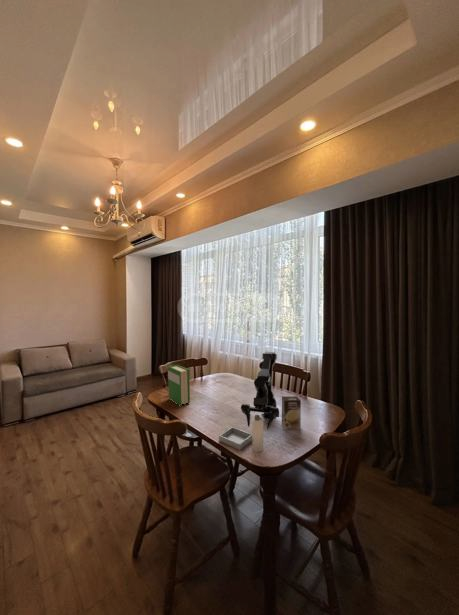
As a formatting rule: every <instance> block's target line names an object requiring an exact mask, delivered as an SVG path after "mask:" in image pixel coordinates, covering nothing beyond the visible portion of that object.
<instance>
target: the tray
mask: <svg viewBox="0 0 459 615" xmlns="http://www.w3.org/2000/svg"><path fill="white" fill-rule="evenodd" d="M219 442H220V443H221V444H224V445H226V446H229V447H231V448H233V449H235V450H237V451H240V452H241V451H242V450H243V449H244V448H245V447H246V446H247V445H249V444H250V443H252V433H250V432H249V431H248V432H247V431H244V430H242V429H241V428H237V427H235V426H231V427H229V428H228V429H227V430H226V431H224V432H223V433H221V434H219V435H218V443H219Z"/></svg>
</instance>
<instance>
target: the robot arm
mask: <svg viewBox="0 0 459 615" xmlns="http://www.w3.org/2000/svg"><path fill="white" fill-rule="evenodd" d="M277 356H278V354H277V353H275V351H274V352H273V351H272V352H271V351H264V353H262V358H261V359H262V360H263V361H262V365H261V369H260V371H259V372H258V374H257V376H256V378H255V379H254V381H253V385H254V388H255V391H256V395H255V397H253V402H252V403H253V404H252V405H253V406H250V404H248V403H242V404H241V406H240V410H241V412H242V413H243V414H244V415H245V417H246V422H247V427H248V428H249V427H250V426H251V425H250V424H251V412H254V413H255V412H256V413H261V416H262V417H263V419H264V418H265V420H268V421H267V425H266V426H267V427H266V430H267V431H268V430H269V429H270V427H271V424H272V422H274V420H275V419H277V418H280V410H279V407H277V400H276V398H275V394H274V392H273V370H274V366H275V364H276V360H277V358H278V357H277Z"/></svg>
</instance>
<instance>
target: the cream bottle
mask: <svg viewBox="0 0 459 615" xmlns="http://www.w3.org/2000/svg"><path fill="white" fill-rule="evenodd" d="M251 434H252V441H251V449H252V451H253V452H255V453H259V452H263V451H264V418H262V417H260V415H259V414H256V415H254V417H252V418H251Z"/></svg>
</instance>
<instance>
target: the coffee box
mask: <svg viewBox="0 0 459 615" xmlns="http://www.w3.org/2000/svg"><path fill="white" fill-rule="evenodd" d="M301 402H302V401H301V399H300V397H298V396H295V395H294V396H286V395H285V396H283V395H282V396H281V426H282V427H283V430H301V429H302V427H301V426H302V425H301V423H302V422H301V420H302V419H301V418H302V417H301V416H302V415H301V413H302V412H301V410H302V409H301V408H302V407H301V405H302V403H301Z"/></svg>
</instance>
